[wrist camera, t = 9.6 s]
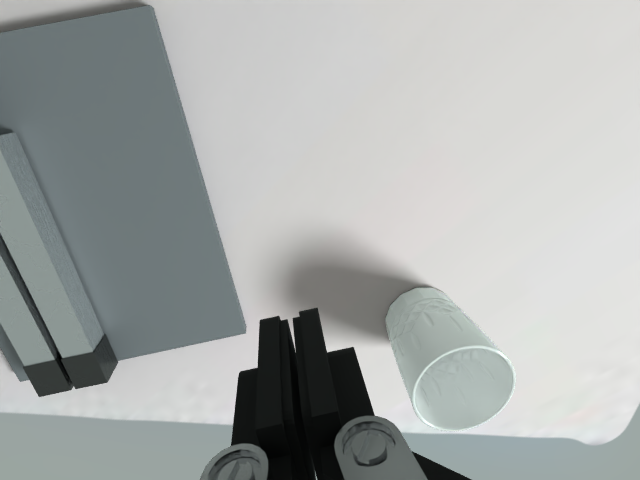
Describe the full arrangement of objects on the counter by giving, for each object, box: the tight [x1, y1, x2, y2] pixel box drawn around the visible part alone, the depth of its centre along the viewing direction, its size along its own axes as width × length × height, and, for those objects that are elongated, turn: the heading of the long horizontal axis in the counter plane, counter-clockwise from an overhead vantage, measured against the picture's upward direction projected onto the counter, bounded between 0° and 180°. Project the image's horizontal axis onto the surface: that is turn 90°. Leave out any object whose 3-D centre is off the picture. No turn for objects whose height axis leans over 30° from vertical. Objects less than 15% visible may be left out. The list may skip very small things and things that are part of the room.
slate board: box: [0, 5, 246, 382], centre depth 32 cm, size 26×20×1 cm
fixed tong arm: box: [0, 233, 74, 397], centre depth 31 cm, size 20×3×3 cm, turn 10°
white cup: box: [385, 287, 516, 432], centre depth 35 cm, size 8×8×10 cm
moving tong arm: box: [0, 132, 118, 389], centre depth 30 cm, size 25×5×3 cm, turn 10°
